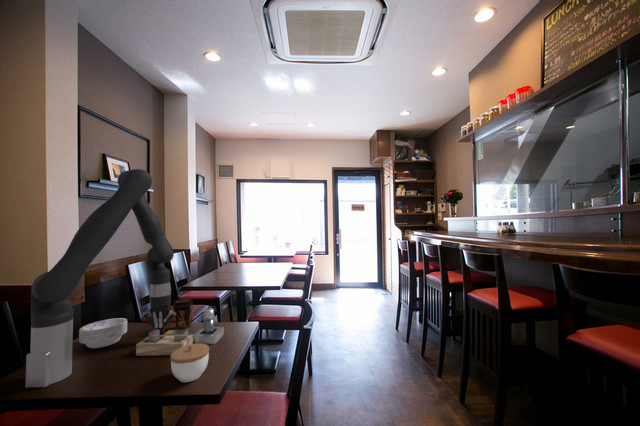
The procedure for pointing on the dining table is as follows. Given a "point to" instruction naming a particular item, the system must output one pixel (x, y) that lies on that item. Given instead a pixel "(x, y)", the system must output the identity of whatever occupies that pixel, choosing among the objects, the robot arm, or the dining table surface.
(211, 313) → the grey metal cylinder
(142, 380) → the dining table surface
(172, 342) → the rack
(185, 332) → the white and yellow block
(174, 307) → the coffee cup
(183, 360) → the lidded jar
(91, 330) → the paper bowls
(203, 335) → the socket block
